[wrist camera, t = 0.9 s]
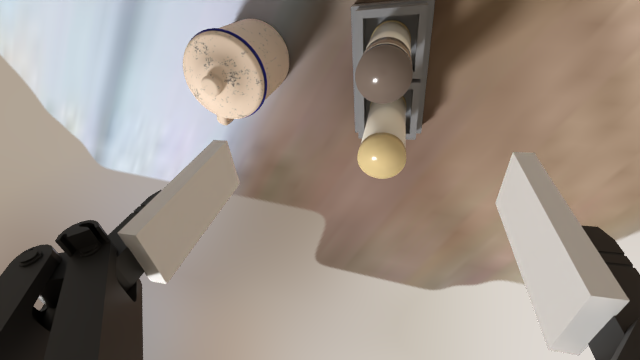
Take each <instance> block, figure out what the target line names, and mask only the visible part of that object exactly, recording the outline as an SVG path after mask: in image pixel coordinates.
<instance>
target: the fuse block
mask: <svg viewBox="0 0 640 360" xmlns="http://www.w3.org/2000/svg"><path fill="white" fill-rule="evenodd" d="M434 6H435V0H396V1H385V2H374V3H363V4H354V5H352V6H351V22H352V52H353V81H354V111H355V132H359V138H363V134H364V130H365V126H366V122H367V118H368V114H369V110H370V104H371V101H369V100H367V99H366V98H365V97H363V96H362V94H361V93H360V92H359V90H358V88H357V86H356V82H355V72H356V68H357V65H358V63H359V61H360V59H361V57H362V55H363V53H364V51H365V50H366V47H367V45H368V43H369V41H370V39H371V36H372V34H373V32H374V30H375V29H376V27H377V26H378V25H379V24H381V23H382V22H384V21H387V20H398V21H401V22H402V23H404V24H405V25H406V26H407V28H408V29H409V31H410V35H411V59H412V70H413V76H412V82H411V85H410V87H409V89H408V90H407V92H406V93H405V94H404V95H403V96H404V98H405V100H406V139H416V133H421V128H422V119H423V110H424V100H425V91H426V81H427V72H428V62H429V53H430V44H431V34H432V25H433V15H434Z"/></svg>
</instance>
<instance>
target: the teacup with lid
mask: <svg viewBox="0 0 640 360" xmlns="http://www.w3.org/2000/svg"><path fill="white" fill-rule="evenodd" d="M288 69H289V54H288V50H287V47H286V44H285V42H284V40H283V39H282V37H281V36H280V34H279V33H278V32H277V31H276V30H275V29H274V28H273V27H272V26H270V25H269V24H267V23H266V22H264V21H261V20H258V19H243V20H240V21H237V22H235V23H232V24H229V25H226V26H223V27H220V28H212V29H206V30H203V31H201V32H199V33H198V34H196V35H195V36H194V37H193V38H192V39H191V40H190V42H189V43H188V45H187V47H186V49H185V52H184V57H183V70H184V76H185V79H186V82H187V84H188V86H189V88H190V90H191V92H192V93H193V95H194V96H195V98H196V99H197V100H198V101H199V102H200V103H201V104H202V105H203V106H204V107H205V108H206V109H208V110H209V111H211V112H212V113H214V114H216V115H217V120H218V122H219V123H221V124H223V125H228V124H230V123H231V122H232V121H233V120H234V119H239V118H245V117H248V116H250V115H252V114H254V113H255V112H256V111H257V110H258V109H259V108H260V107H261V106H262V104H263V102H264V100H265V99H266V98H267V97H268V96H269V95H270V94H271V93H272V92H274V91H275V90H276V89H277V88H278V87H279V86H280V85H281V84H282V82H283V81H284V80H285V78H286V76H287V73H288Z"/></svg>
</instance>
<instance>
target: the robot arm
mask: <svg viewBox="0 0 640 360" xmlns="http://www.w3.org/2000/svg"><path fill="white" fill-rule="evenodd" d="M239 184H240V182H239V179H238V175H237V172H236V169H235V166H234V162H233V159H232V156H231V153H230V149H229V146H228V143H227V141H219V140H213V141H212V142H211V143H210V144H209V145H208V146H207V147H206V148H205V149H204V150H203V151H202V152H201V153H200V154H199V155H198V156H197V157H196V158H195V159H194V160H193V161H192V162H191V163H190V164H189V165H188V166H186V167H185V168H184V169H183V170H182V171H181V172H180V173H179V174H178V175H177V176H176V177H175V178H174V179H173V180H172V181H171V182H170V183H169V184H168V185H167V186H166V187H165V188H164V189H163V190H160V191H158V192H156V193H155V194H153V195H151V196H150V197H148V198H147V199H146V200H145V201H144V202H143V203H142V204H141V206H140V207H138V208H137V209H136V210H135V211H134V213H131V214H130V215H129V216H128V217H127V218H126V219H125V220H124V221H123V222H122V223H121V224H120V225H119V226H118V227H116V228H115V229H114V230H113V231H112V232H111V233H110V234H109V235H107V234H106V233H105V231H104V230H103V229H102V227H101V226H100V224H99V223H98V222H96V221H94V220H88V221H83V222H80V223H77V224H75V225H72V226H71V227H69V228H67V229H66V230H64V231H63V232H62V233H61V234H60V235H59V236H58V237H57V239H56V240H55V241H56V243H57V244H58V245H59V246H60V247H61V248H62V249H63V250H64V253H57V252H56V250H55V249H54V248H53V247H52V246H50V245H39V246H36V247H33V248H30V249H28V250H26V251H24V252H23V253H21V254H20V255H19V256H17V257H16V258H15V259H14V260H13V261H12V262H11V263H10V264H9V265H8V267H7V268H6V270H5V271H4V272H3V273H2V275H1V276H0V360H143V333H142V332H143V329H142V328H143V327H142V284H141V281H140V279H139V278H140V276H141V275H142V274H143V273H144V272H145V274H146V275H147V277H148V278H149V279H150V281H153V282H158V283H164V284H167V283H168V282H169V280H170V279H171V278H172V276H173V275H174V274H175V272H176V271H177V269H178V268H179V267H180V265H181V264H182V263H183V261H184V260H185V258H186V257H187V256H188V254H189V253H190V251H191V250H192V249H193V247H194V246H195V245H196V243H197V242H198V241H199V239H200V238H201V236H202V235H203V234H204V232H205V231H206V230H207V228H208V227H209V225H210V224H211V223H212V221H213V220H214V219H215V217H216V216H217V214H218V213H219V212H220V210H221V209H222V208H223V206H224V205H225V204H226V202H227V201H228V199H229V198H230V196H231V195H232V194H233V193H234V191H235V190H236V188H237V187H238V186H239ZM496 206H497V208H498V211H499V214H500V217H501V219H502V222H503V225H504V228H505V231H506V233H507V236H508V239H509V242H510V245H511V247H512V250H513V253H514V256H515V258H516V261H517V264H518V267H519V270H520V272H521V275H522V278H523V281H524V283H525V286H526V289H527V292H528V294H529V297H530V300H531V303H532V306H533V308H534V310H535V314H536V316H537V320H538V322H539V325H540V328H541V331H542V333H543V336H544V339H545V342H546V345H547V347H548V350H551V351H557V352H563V353H569V354H574V355H580V354H581V353H582V352H583V351H584V350H585V349H586V348H587V346H588V345H589V347H590V349H591V351H592V353H593V355H594V357H595V359H596V360H640V274H639V273H638V271H637V270H636V269H635V268H633V264H632V263H631V262H630V260H629V259H628V258H627V256H624V252H623V251H622V249H621V248H620V247H619V245H618V244H617V243H616V241H615V240H614V239H613V238H612V237H610V236H609V235H608V234H606V233H605V232H604V231H603V230H601V229H600V228H599V227H592V226H581V224H580V223H579V221H578V220H577V218H576V217H575V215H574V214H573V212H572V211H571V209H570V207H569V206H568V204H567V203H566V201H565V200H564V198H563V197H562V195H561V194H560V192H559V190H558V189H557V187H556V186H555V184H554V183H553V181H552V180H551V178H550V177H549V175H548V173H547V172H546V170H545V169H544V167H543V166H542V164H541V163H540V161H539V159H538V158H537V156H536V155H535V153H526V152H513V153H512V156H511V159H510V162H509V165H508V168H507V171H506V174H505V177H504V180H503V183H502V186H501V188H500V191H499V194H498V197H497V200H496ZM37 299H39V300H40V301H42V302H43V303H44V305H43V307H42V309H41V310H40V311H39V310H37V309H36V308H35V307H33V306H34V304H35V302H36V300H37Z"/></svg>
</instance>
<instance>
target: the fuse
mask: <svg viewBox="0 0 640 360" xmlns="http://www.w3.org/2000/svg"><path fill="white" fill-rule="evenodd" d="M405 141H406V100H405V98H404V96H402V97H401V98H399V99H398V100H396V101H394V102H391V103H387V104H378V103H374V102H371V104H370V110H369V114H368V118H367V122H366V126H365V130H364V134H363V138H362V142H361V145H360V148H359V152H358V164H359V166H360V168H361V169H362V170H363V171H364V172H365V173H366V174H368V175H369V176H372V177H374V178H380V179H385V178H390V177H393V176H395V175H397V174H398V173H399V172H400V171H401V170H402V169H403V168H404V166H405V163H406V148H405Z"/></svg>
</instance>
